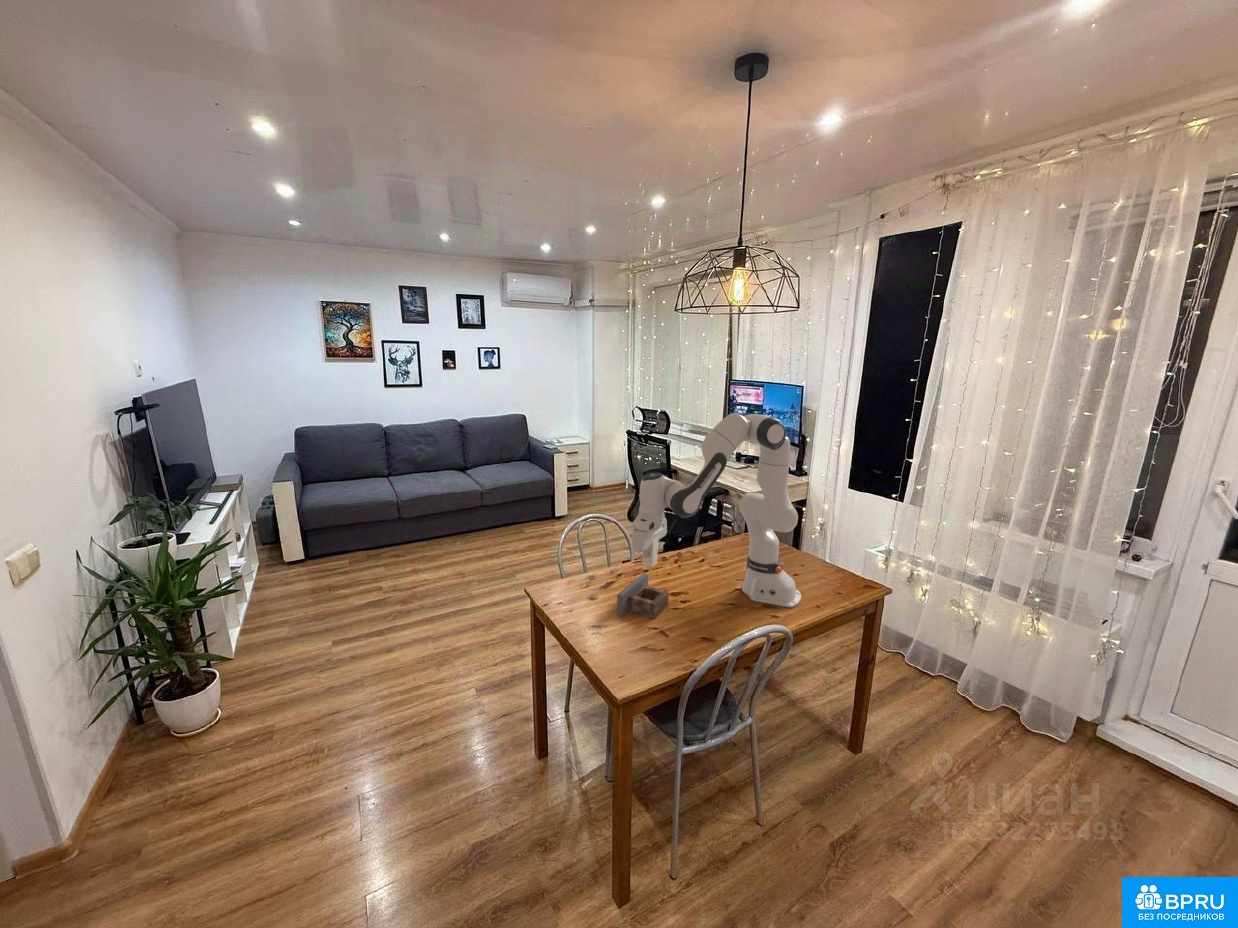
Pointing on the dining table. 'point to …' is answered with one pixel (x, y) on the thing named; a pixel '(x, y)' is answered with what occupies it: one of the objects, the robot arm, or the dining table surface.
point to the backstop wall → (629, 593)
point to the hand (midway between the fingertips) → (649, 554)
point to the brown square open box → (648, 601)
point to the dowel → (652, 554)
